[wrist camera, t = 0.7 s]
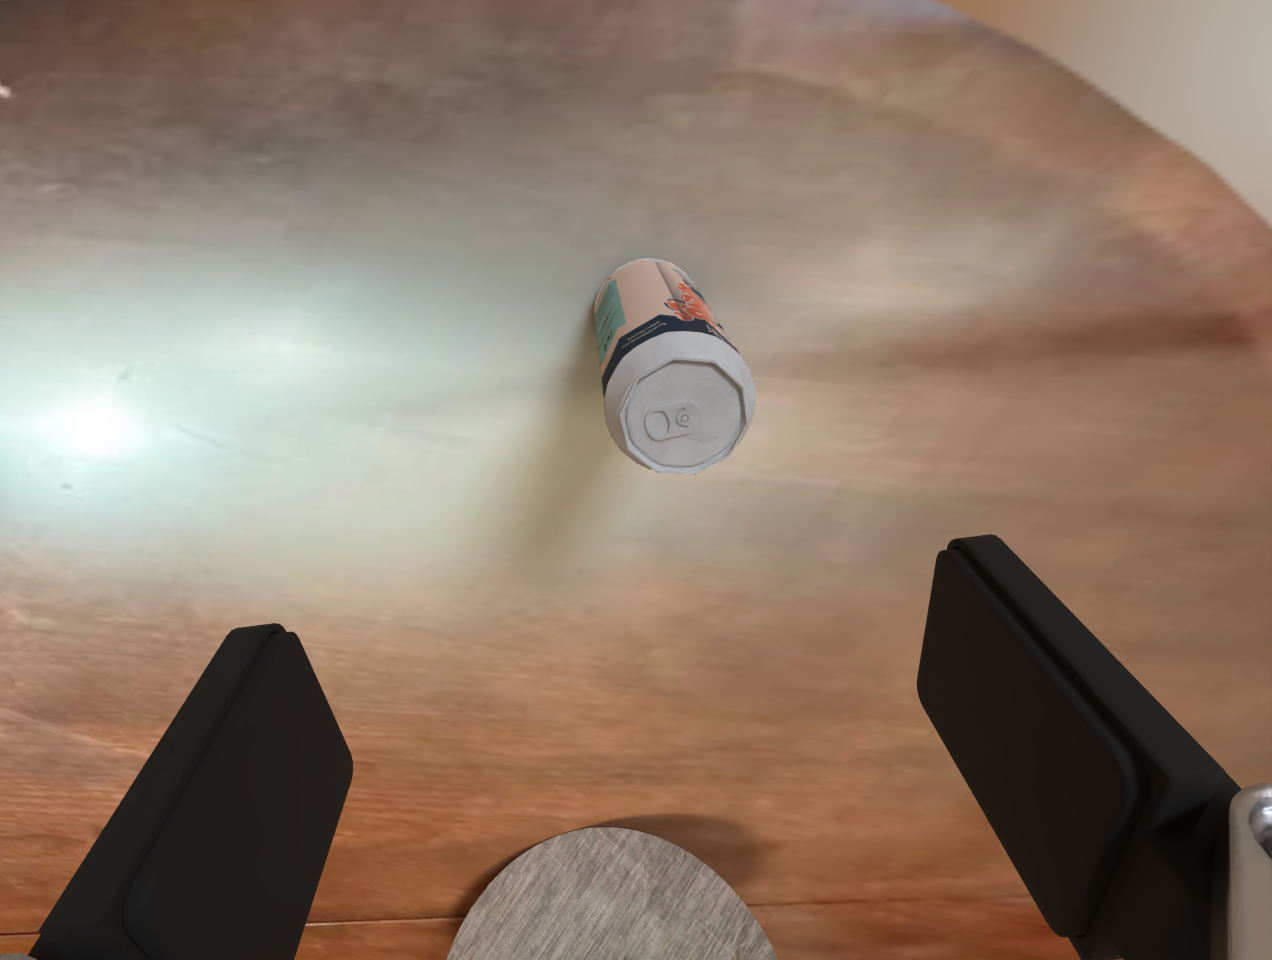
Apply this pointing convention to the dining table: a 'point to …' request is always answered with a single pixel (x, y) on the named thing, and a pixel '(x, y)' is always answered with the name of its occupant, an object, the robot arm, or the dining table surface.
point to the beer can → (669, 371)
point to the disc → (609, 905)
